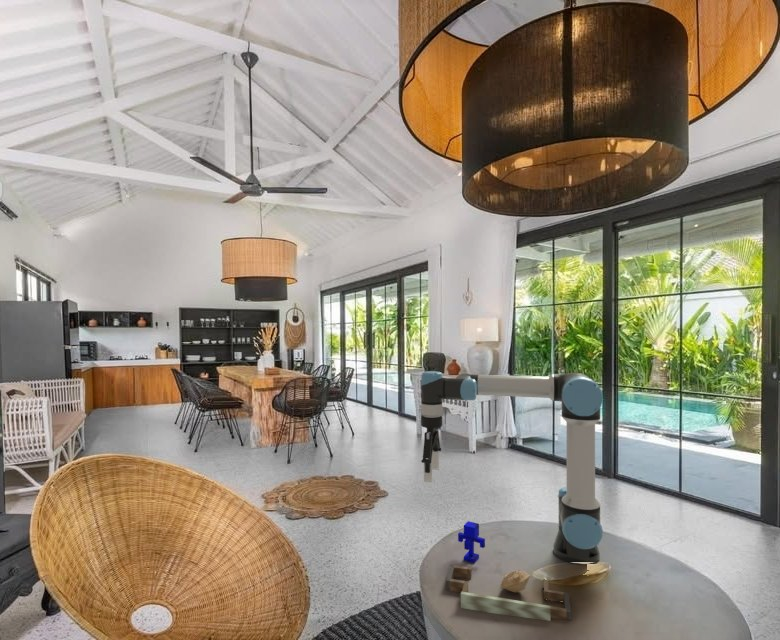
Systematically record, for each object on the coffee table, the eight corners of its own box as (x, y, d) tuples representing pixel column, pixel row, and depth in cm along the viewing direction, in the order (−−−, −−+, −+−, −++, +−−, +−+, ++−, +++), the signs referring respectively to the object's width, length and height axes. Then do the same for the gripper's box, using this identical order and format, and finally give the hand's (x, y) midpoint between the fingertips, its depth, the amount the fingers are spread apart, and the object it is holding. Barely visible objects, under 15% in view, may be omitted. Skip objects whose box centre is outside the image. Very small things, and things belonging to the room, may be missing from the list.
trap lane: (565, 589, 141) (565, 576, 141) (571, 626, 124) (571, 611, 124) (451, 572, 151) (451, 560, 151) (442, 604, 134) (442, 590, 134)
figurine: (465, 566, 155) (465, 530, 155) (457, 555, 162) (456, 521, 162) (486, 563, 157) (486, 528, 157) (477, 552, 164) (476, 518, 164)
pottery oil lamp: (523, 579, 147) (523, 557, 147) (533, 602, 135) (533, 578, 135) (496, 578, 148) (496, 556, 148) (503, 601, 136) (503, 577, 136)
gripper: (428, 408, 177) (428, 463, 177) (413, 422, 153) (413, 486, 153) (447, 409, 175) (447, 465, 175) (435, 423, 151) (435, 488, 151)
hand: (431, 475), depth 164 cm, fingers open, 13 cm apart
